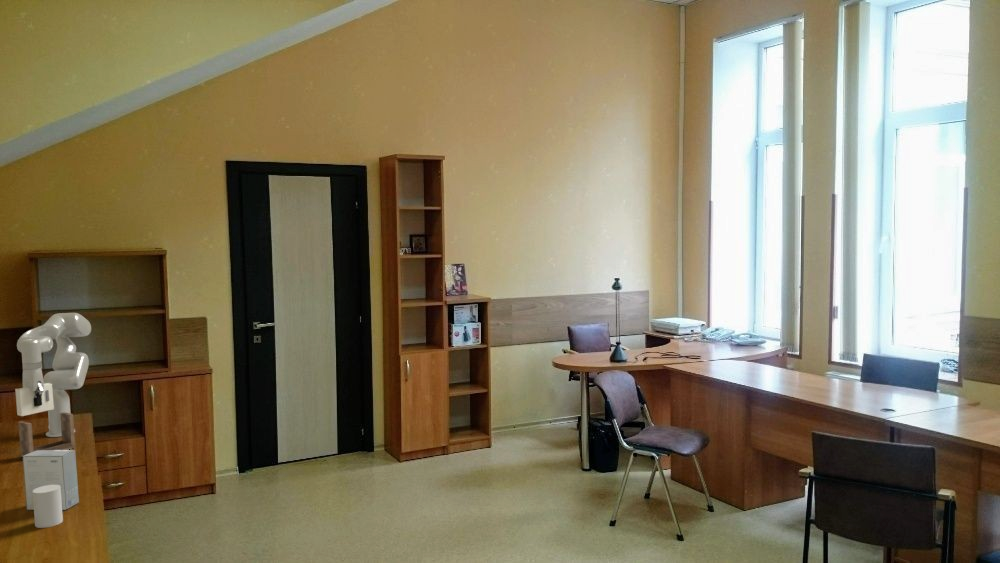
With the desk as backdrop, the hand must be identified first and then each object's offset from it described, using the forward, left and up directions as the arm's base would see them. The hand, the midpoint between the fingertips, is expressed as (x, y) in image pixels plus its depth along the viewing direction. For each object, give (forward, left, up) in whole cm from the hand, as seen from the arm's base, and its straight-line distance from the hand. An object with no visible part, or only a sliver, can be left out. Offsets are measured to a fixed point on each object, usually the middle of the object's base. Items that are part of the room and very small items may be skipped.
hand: (35, 404), depth 342 cm
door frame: (+11, -1, -21) cm, 23 cm away
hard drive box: (+83, -36, -21) cm, 93 cm away
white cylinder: (+98, -45, -21) cm, 110 cm away
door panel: (0, 0, -3) cm, 3 cm away
